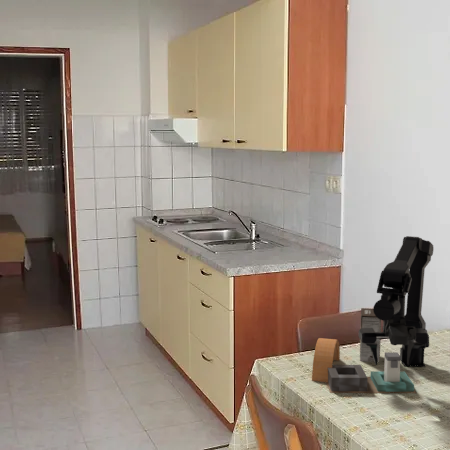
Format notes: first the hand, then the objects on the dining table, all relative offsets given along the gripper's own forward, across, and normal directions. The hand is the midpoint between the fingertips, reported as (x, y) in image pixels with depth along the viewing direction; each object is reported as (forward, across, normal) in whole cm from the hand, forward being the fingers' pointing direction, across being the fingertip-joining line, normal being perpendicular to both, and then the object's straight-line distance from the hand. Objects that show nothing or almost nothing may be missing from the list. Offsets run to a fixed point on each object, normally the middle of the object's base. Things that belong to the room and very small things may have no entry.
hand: (392, 364), depth 178 cm
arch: (+7, -17, +12) cm, 22 cm away
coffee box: (+7, -2, +23) cm, 24 cm away
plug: (+6, 0, 0) cm, 6 cm away
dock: (+7, -6, 0) cm, 10 cm away
